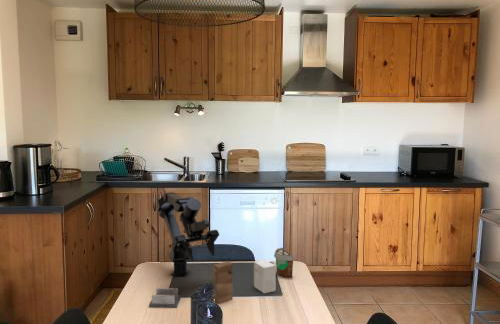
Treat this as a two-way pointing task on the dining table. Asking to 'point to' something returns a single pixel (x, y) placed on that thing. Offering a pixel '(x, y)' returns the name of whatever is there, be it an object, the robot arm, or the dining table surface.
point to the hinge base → (165, 298)
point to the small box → (265, 276)
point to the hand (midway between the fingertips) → (203, 257)
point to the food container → (283, 263)
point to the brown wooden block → (223, 281)
